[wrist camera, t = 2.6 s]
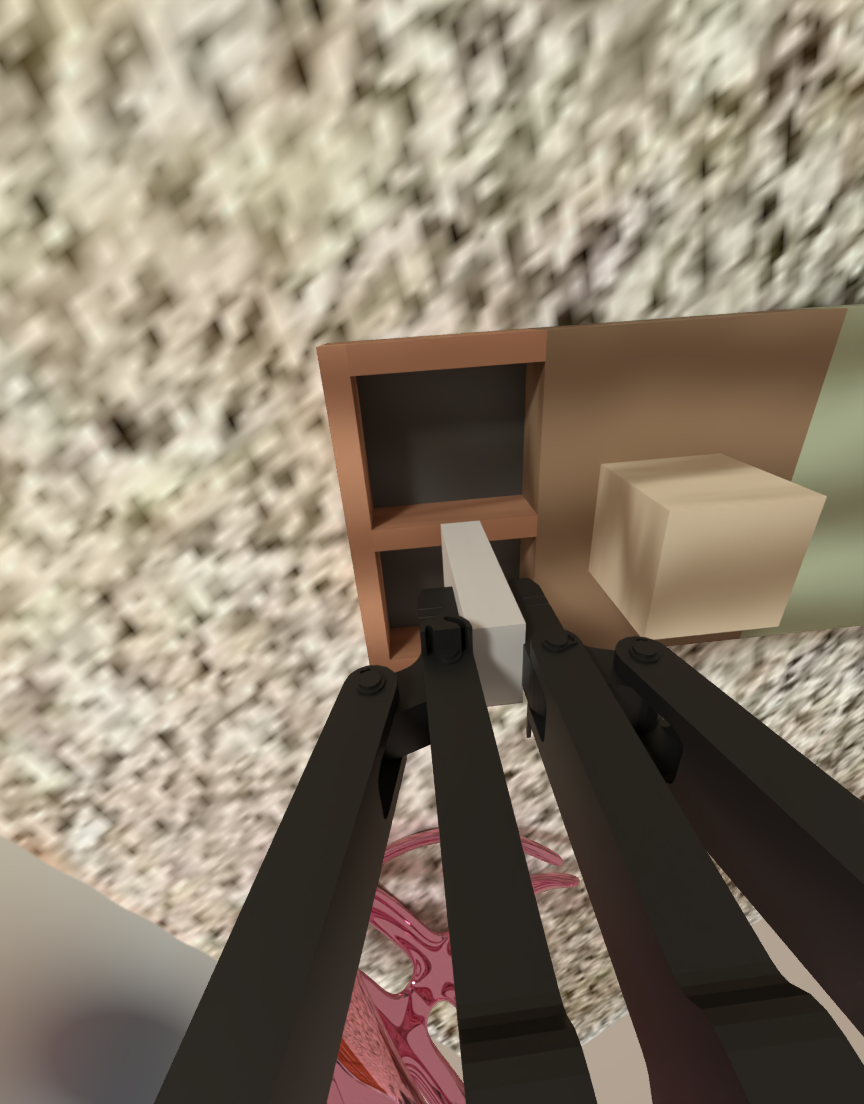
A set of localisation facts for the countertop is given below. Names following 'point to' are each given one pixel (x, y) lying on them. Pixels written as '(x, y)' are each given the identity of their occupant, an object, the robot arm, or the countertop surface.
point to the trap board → (588, 451)
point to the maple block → (699, 543)
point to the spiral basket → (409, 1003)
